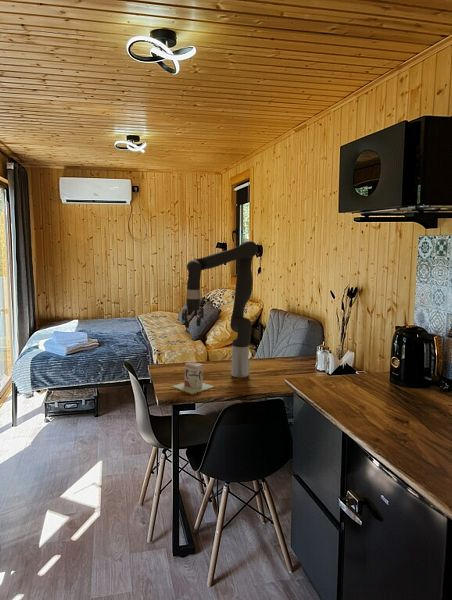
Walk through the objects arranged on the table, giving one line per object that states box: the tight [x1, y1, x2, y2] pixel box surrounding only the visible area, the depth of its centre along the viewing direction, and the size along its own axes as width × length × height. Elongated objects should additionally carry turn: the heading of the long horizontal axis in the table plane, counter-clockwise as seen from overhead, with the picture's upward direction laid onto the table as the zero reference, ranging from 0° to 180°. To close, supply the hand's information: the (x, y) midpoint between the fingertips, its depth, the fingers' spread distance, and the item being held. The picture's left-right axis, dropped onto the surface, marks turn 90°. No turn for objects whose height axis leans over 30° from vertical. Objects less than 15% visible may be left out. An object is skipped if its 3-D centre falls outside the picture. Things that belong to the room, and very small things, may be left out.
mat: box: [171, 382, 215, 395], centre depth 239 cm, size 16×15×1 cm
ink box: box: [183, 361, 204, 389], centre depth 238 cm, size 9×5×12 cm, turn 57°
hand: (192, 327), depth 255 cm, fingers open, 8 cm apart
